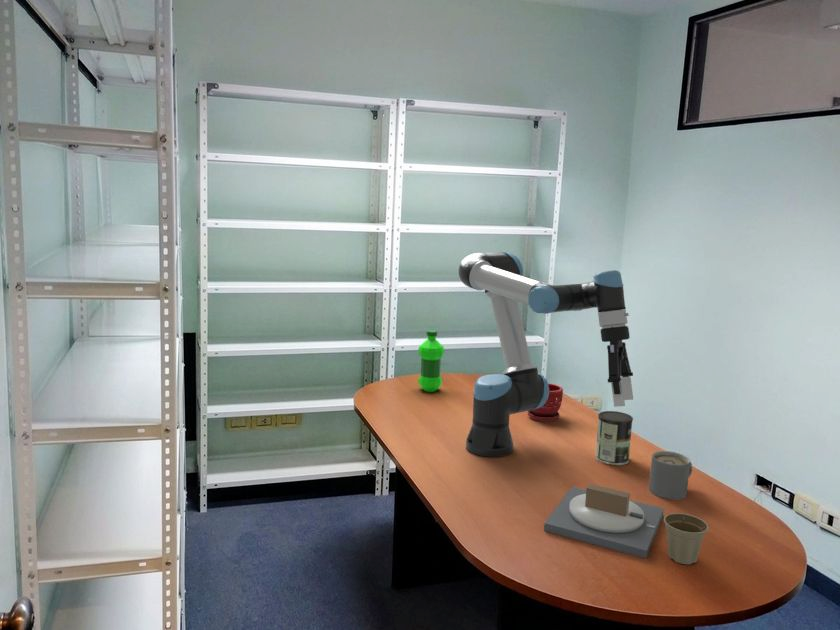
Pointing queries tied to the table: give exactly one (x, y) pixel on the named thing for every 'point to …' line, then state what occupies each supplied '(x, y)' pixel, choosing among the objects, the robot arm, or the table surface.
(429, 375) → the plastic bottle
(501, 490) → the table surface
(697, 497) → the table surface
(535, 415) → the plant pot
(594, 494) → the dial
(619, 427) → the coffee can
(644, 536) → the base plate
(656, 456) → the coffee mug
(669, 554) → the flower pot
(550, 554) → the table surface
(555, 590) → the table surface
